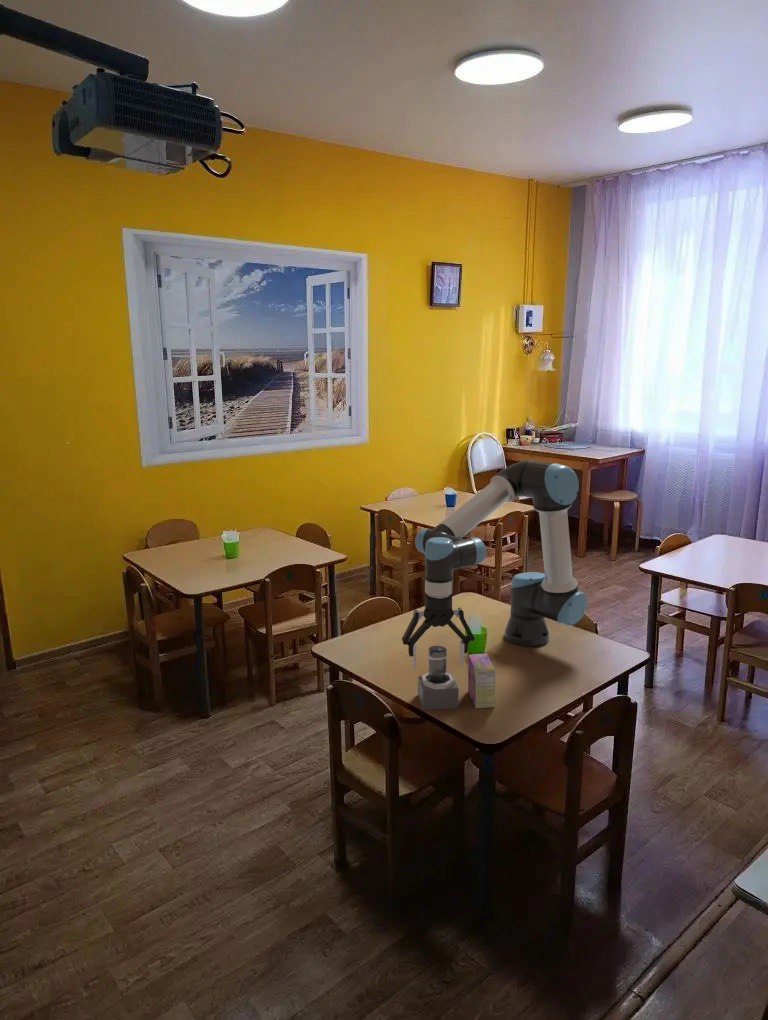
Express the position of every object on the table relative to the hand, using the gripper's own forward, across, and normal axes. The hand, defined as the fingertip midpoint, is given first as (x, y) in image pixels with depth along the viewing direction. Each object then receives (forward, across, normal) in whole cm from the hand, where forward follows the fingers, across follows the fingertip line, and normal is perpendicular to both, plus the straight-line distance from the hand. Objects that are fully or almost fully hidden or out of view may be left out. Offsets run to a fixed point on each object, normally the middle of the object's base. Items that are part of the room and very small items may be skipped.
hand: (437, 665), depth 194 cm
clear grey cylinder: (+5, 0, 0) cm, 5 cm away
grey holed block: (+11, 0, 0) cm, 11 cm away
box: (+12, -12, 0) cm, 17 cm away
